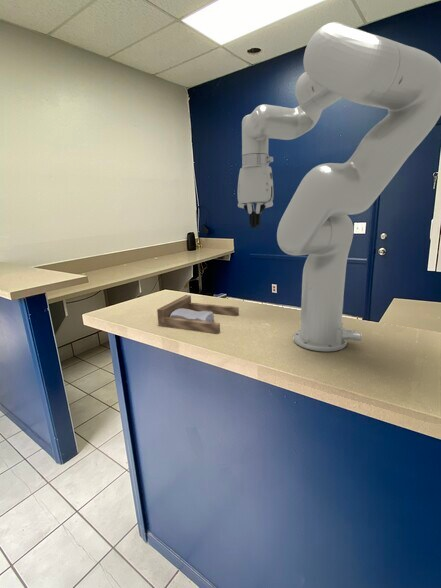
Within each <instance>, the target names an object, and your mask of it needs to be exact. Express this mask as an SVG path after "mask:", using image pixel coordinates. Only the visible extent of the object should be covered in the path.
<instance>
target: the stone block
mask: <svg viewBox="0 0 441 588" xmlns="http://www.w3.org/2000/svg"><path fill="white" fill-rule="evenodd" d="M170 317H172V318H181V319H189V320H197V321H206V322H214V320H215V319H214V318H215V317H214V314H213V312H211V311H201V312H200V311H199V312H198V311H193V310H189V309H184V308H181V309H177V310H175V311H174V312H172V313H171V315H170Z"/></svg>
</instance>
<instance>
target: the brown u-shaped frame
mask: <svg viewBox="0 0 441 588" xmlns="http://www.w3.org/2000/svg"><path fill="white" fill-rule="evenodd" d="M181 308H184V309H189V310H193V311H198V312H199V311H200V312H201V311H211V312H213V315H214V314H215V315H223V316H233V317H238V316H239V315H240V313H239V312H240V310H239V309H240V307H239V306H231V305H230V306H229V305H221V304H220V305H219V304H211V303H210V304H209V303H201V302H200V303H199V302H192V295H189V294H185V295H183V296H181V297H179V298H177V299H175V300H173V301H171V302H169V303H167V304H165V305H163V306H162V307H159V308H157V309H156V310H157V311H156V313H157V324H158V325H157V326H158V327H164V328H165V327H167V328H172V329H181V330H187V331H188V330H189V331H194V332H201V333H203V332H204V333H210V334H211V333H212V334H219V333H220V332H221V324H220V322H214V321H213V322H206V321H197V320H189V319H181V318H172V317H170V315H171V313H172V312H174V311H175V310H177V309H181Z"/></svg>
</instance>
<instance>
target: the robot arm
mask: <svg viewBox="0 0 441 588" xmlns="http://www.w3.org/2000/svg"><path fill="white" fill-rule="evenodd" d="M302 62H303V69H304V72H303V73H302V74H300V76H299V77H298V79H297V81H296V83H295V97H296V100H297V103H298V106H296V107H293V108H290V107H286V106H285V107H284V106H280V105H272V104H265V103H263V104H260V105H258V106H256V107H255V108H254V110H253V111H252V112H251V113H250V114H247V115H246V114H245V116H244V117H243V118H242V121H241V146H242V147H241V158H242V159H241V160H242V161H241V162H242V163H241V164H242V165H241V168H240V169H239V174H238V180H237V181H238V182H237V202H238V203H237V207H238V208H240V209H244V210H245V211H246V212H247V213H248V215H249V225H250V228H251V229H252V228H259V227H260V225H261V215H262V213H263V212H264V210H265V209H267V208H271V207H273V206H274V202H273V200H274V180H273V170H272V167H271V166H270V164H271V163H273V162H274V157H273V156H270V155H269V139H274V140H275V139H276V140H284V141H291V140H294V139H297V138H299V137H301V136H303V135H304V134H306V133H307V132H309V131H311V130H312V129H313V128H314V127H315V126H316V124H317V123H318V121H319V120H320V117H321V116H322V112H323V110H325V109H326V108H329V107H330V106H332V105H333V104H334V103H336V102H338V101H339V100H341V99H345V100H347V101H350V102H352V103H354V104H355V103H356V104H359V105H361V106H362V105H364V106H369V107H373V108H374V107H375V108H378V109H385V110H387V115H385V117H384V118H383V119H382V120H380V121H378V122H377V124H375V125H374V126H372V128H370V130H369V131H368V132H367V133H366V134H365V136H364V137H363V138H362V139H361V141H360V142H359V144H358V146H357V148H356V149H355V150H354V152H353V154H352V155H351V156H350V157H349V159H348V160H347V161H345V162H343V163H339V162H335V163H334V162H328V163H327V162H326V163H321V164H318V165H316V166H315V167H313V168H312V169H311V170H310V171H308V172H307V173H306V174H305V176H304V177H303V178H302V180H301V181H300V183H299V185H298V186H297V188H296V191H295V192H294V194H293V195H292V198H291V199H290V202H289V203H288V205H287V207H286V209H285V211H284V213H283V215H282V217H281V219H280V221H279V223H278V226H277V232H276V241H277V245H278V246H279V249H280V250H281V251H282V252H284V253H285V254H287V255H290V256H295V257H296V256H307V255H308V256H307V258H306V259H305V262H304V265H303V269H302V280H301V281H302V282H301V302H300V303H301V305H300V326H299V327H300V329H299V330H297V331H295V332H294V333H293V341H294V342H295V344H296V345H298V346H299V347H301V348H304V349H306V350H311V351H315V352H326V353H327V352H335V351H339V350H342V349H344V348H346V346H347V345H348V340H351V341H358V342H362V336H363V335H362V332H357V330H356V329H351V328H350V329H349V328H346V327H344V322H342V321H343V309H344V296H345V295H344V294H345V283H346V273H347V262H348V256H349V254H350V250H351V246H352V242H353V238H354V230H355V229H354V224H353V220H352V219H351V217H349V216H351V215H358V214H363V212H366V211H367V210H368V209H370V207H371V206H372V205H373V204H374V203H375V201H376V200H377V199H378V198H379V196H380V195H381V193H382V192H383V191H384V189H385V188H386V187H387V186H388V185H389V184H390V182H391V181H392V180H393V178H394V177H395V175H396V174H397V173H398V172H399V170H400V169H401V168H402V166H403V164H404V163H405V162H406V161H407V159H409V157H410V156H411V155H412V154H413V152H414V151H415V150H416V148H417V147H418V146H419V145H420V144H421V143H422V142H423V141H424V140H425V138H426V137H427V136H428V134H429V133H430V132H431V131H432V129H433V128H434V127H435V126H436V125H437V122H438V121H439V119H440V117H441V61H439V60H438V59H437V57H435V56H433V55H432V54H431V53H428V52H426V51H424V50H421V49H419V48H417V47H413V46H409V45H407V44H404V43H400V42H398V41H395V40H392V39H389V38H386V37H383V36H380V35H377V34H373V33H371V32H367V31H365V30H362V29H359V28H356V27H354V26H351V25H348V24H345V23H343V22H338V21H332V22H328V23H326V24H324V25H322V26H321V27H320V28H319V29H317V30H316V31H315V32H314V33H313V35H312V36H311V38H310V39H309V41H308V43H307V45H306V47H305V50H304V54H303V61H302ZM254 204H256V206H255V205H254Z"/></svg>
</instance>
